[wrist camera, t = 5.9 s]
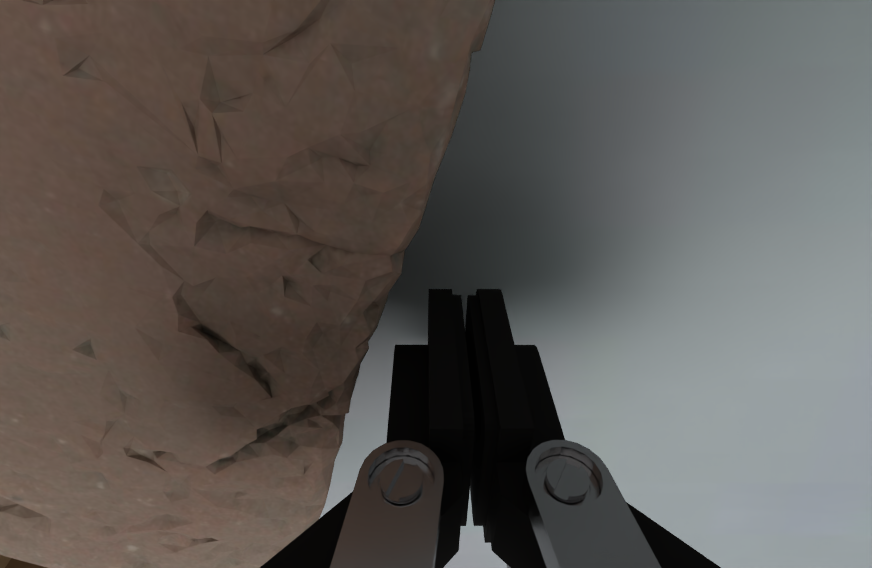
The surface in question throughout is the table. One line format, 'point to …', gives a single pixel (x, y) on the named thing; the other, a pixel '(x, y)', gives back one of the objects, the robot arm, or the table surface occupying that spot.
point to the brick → (202, 258)
